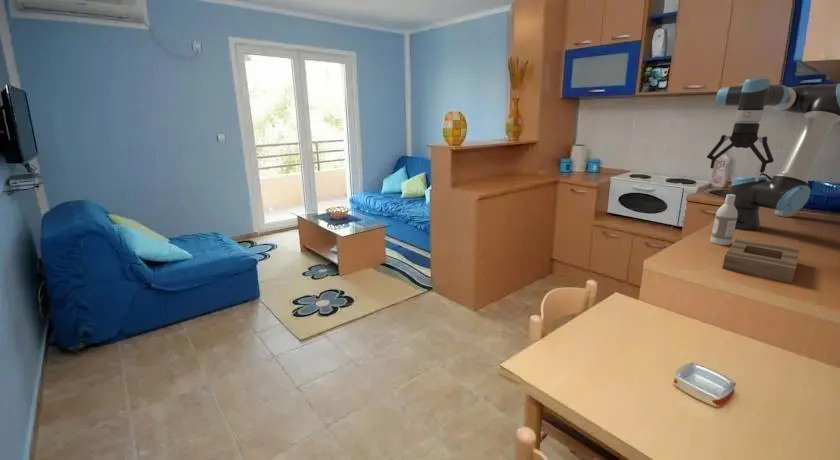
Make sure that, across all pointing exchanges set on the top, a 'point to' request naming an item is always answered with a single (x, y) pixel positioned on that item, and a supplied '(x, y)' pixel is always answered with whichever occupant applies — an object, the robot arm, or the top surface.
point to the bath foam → (725, 222)
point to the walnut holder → (762, 260)
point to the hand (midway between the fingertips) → (734, 178)
